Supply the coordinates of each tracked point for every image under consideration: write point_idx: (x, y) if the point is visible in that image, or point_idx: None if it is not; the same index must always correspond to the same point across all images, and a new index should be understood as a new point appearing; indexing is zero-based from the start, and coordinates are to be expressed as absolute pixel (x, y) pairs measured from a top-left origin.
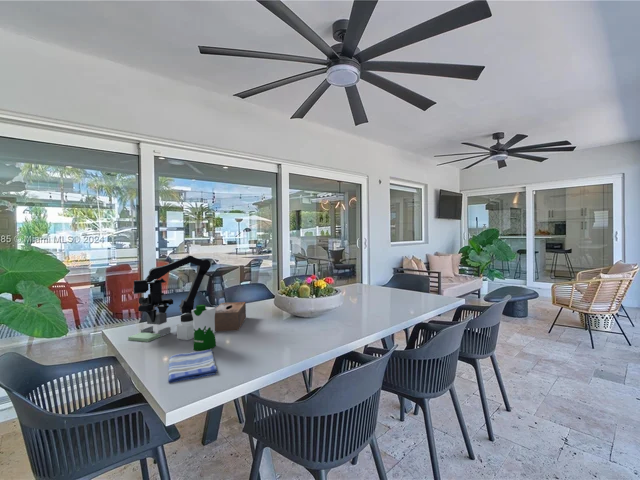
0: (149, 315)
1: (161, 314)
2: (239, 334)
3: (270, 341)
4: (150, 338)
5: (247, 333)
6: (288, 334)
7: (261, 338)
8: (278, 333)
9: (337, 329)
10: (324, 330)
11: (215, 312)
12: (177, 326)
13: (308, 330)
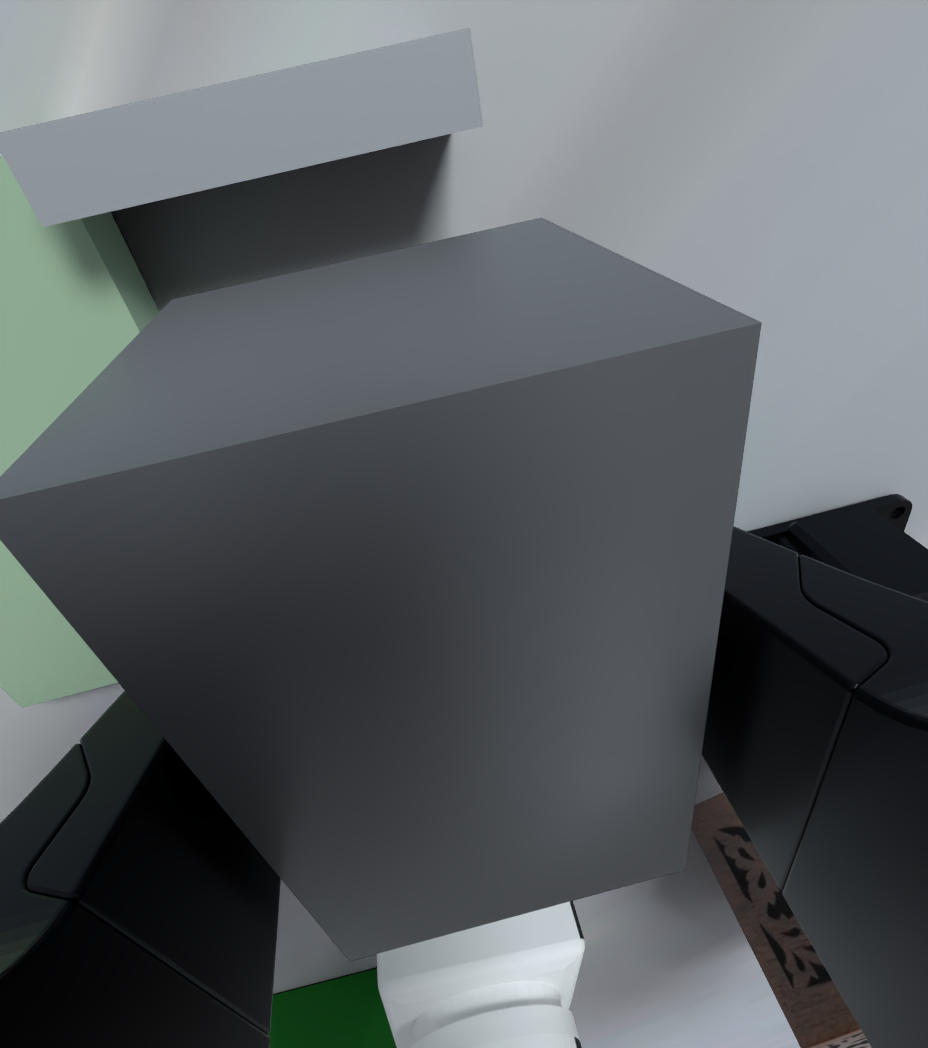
0: (40, 826)
1: (452, 928)
2: (652, 938)
3: (581, 1037)
4: (85, 680)
5: (682, 945)
6: (700, 1015)
7: (612, 1008)
8: (709, 996)
9: (793, 1036)
10: (776, 1030)
11: (844, 1045)
12: (379, 972)
13: (772, 1014)
